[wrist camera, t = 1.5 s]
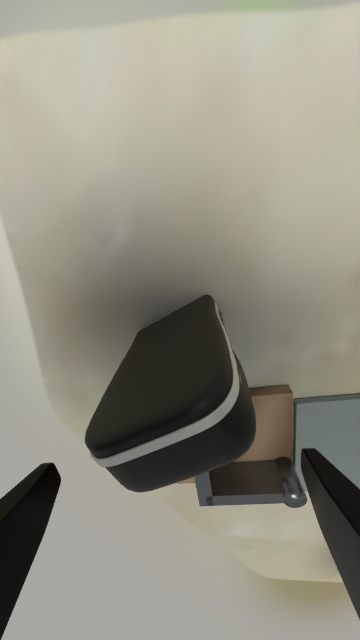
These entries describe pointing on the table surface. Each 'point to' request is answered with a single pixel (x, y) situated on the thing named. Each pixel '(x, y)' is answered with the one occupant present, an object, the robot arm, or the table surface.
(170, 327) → the battery charger
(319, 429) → the end mat
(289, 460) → the bent rail
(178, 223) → the table surface
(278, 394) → the rail board
